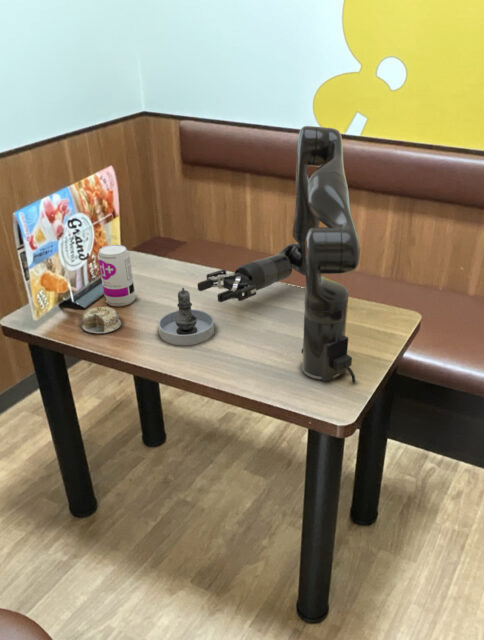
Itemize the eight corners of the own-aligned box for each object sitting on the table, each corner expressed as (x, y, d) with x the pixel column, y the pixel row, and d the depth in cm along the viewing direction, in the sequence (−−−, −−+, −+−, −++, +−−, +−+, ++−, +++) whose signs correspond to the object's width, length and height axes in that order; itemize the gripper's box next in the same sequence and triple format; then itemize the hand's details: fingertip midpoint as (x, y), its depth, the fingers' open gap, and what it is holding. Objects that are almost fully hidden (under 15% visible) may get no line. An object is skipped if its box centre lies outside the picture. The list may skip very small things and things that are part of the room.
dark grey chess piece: (173, 327, 155) (168, 284, 148) (196, 323, 157) (192, 281, 150) (177, 338, 151) (173, 294, 144) (200, 334, 152) (197, 291, 145)
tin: (224, 334, 153) (224, 324, 151) (176, 351, 146) (175, 341, 144) (196, 313, 162) (195, 304, 160) (149, 328, 155) (148, 319, 153)
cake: (91, 316, 161) (88, 297, 159) (127, 320, 160) (125, 301, 158) (75, 332, 153) (72, 312, 150) (112, 336, 152) (110, 316, 149)
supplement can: (119, 310, 163) (111, 258, 155) (99, 302, 167) (90, 250, 159) (141, 299, 169) (135, 248, 160) (122, 291, 173) (114, 241, 164)
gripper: (239, 254, 164) (190, 270, 155) (274, 270, 155) (225, 288, 147) (240, 279, 168) (192, 297, 160) (274, 296, 160) (226, 316, 151)
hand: (208, 292), depth 153 cm, fingers open, 8 cm apart
